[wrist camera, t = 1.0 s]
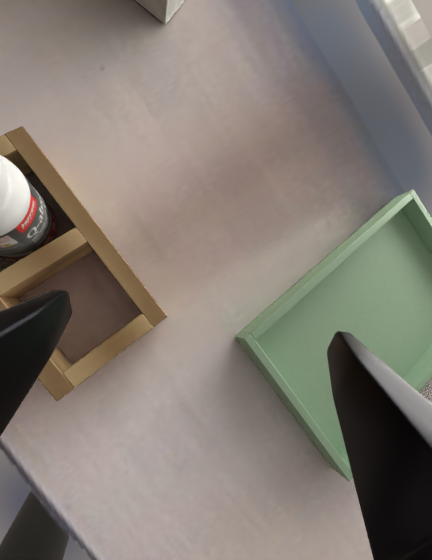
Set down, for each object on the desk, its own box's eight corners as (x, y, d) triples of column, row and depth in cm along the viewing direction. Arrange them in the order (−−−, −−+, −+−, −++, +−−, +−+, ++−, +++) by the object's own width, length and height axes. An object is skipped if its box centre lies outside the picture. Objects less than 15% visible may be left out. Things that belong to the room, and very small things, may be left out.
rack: (67, 388, 23) (56, 401, 20) (-82, 208, 22) (-121, 189, 18) (163, 315, 26) (167, 316, 23) (37, 150, 24) (22, 125, 21)
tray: (332, 467, 29) (349, 481, 27) (234, 336, 28) (244, 338, 25) (465, 306, 37) (487, 306, 35) (394, 197, 36) (413, 189, 33)
